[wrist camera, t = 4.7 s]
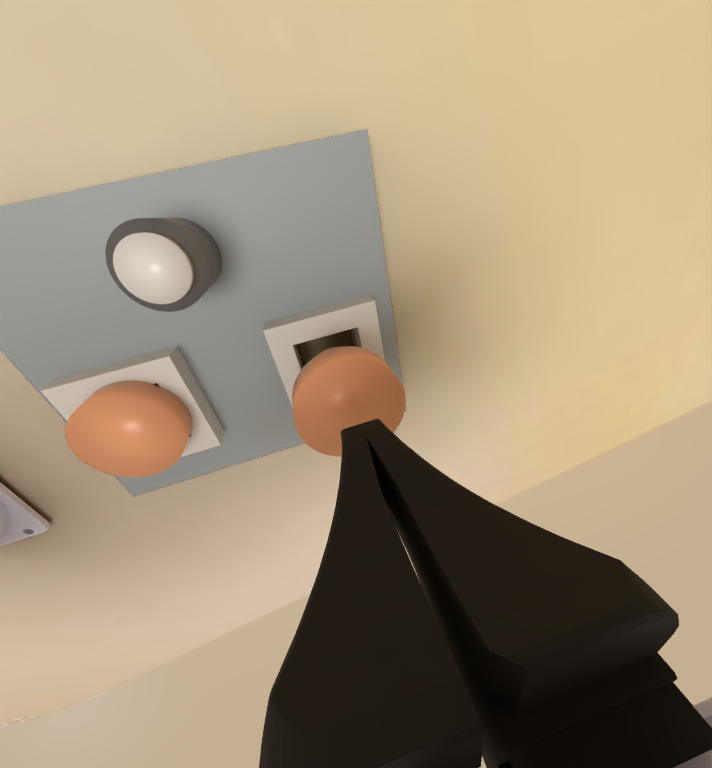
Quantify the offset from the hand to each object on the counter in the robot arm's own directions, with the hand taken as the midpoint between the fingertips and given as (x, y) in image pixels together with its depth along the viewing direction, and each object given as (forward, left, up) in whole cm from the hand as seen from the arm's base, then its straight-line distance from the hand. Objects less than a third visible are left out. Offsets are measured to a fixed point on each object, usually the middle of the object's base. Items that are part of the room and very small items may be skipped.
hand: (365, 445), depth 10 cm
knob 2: (0, 0, -6) cm, 6 cm away
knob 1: (-10, 0, -9) cm, 14 cm away
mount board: (-5, +2, -10) cm, 11 cm away
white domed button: (-5, +6, -8) cm, 11 cm away
